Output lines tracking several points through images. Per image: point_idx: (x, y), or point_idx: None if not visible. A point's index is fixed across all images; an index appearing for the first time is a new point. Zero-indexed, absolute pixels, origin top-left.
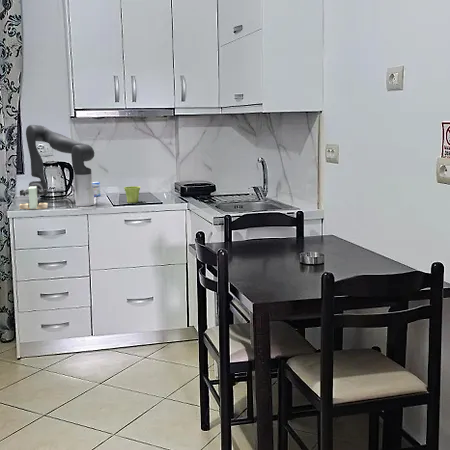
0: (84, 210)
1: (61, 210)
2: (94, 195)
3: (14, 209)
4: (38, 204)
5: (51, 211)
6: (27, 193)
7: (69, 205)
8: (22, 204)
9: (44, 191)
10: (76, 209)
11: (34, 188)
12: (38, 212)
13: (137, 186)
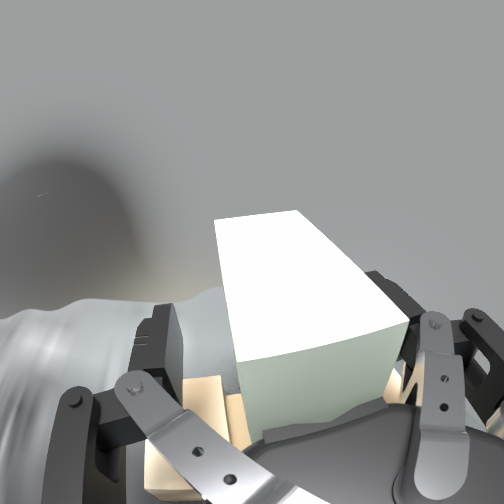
0: (20, 316)
1: (89, 330)
2: None
3: None
4: (219, 377)
5: (138, 312)
6: (406, 388)
7: (3, 497)
8: None
9: (106, 393)
10: (27, 342)
11: (224, 222)
12: (203, 294)
13: None
